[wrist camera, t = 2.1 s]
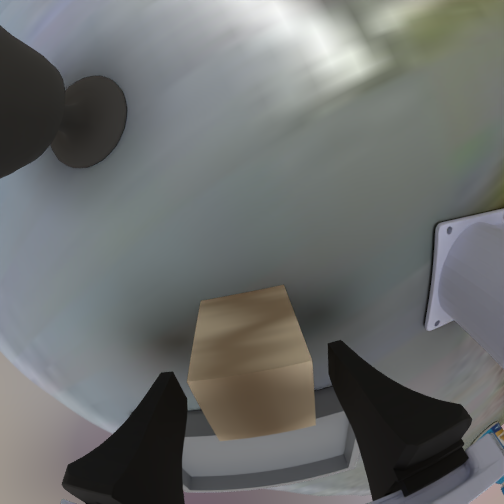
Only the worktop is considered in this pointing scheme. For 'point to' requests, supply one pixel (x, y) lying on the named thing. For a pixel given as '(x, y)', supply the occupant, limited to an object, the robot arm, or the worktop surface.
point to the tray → (269, 452)
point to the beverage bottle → (500, 438)
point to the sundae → (53, 111)
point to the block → (251, 366)
